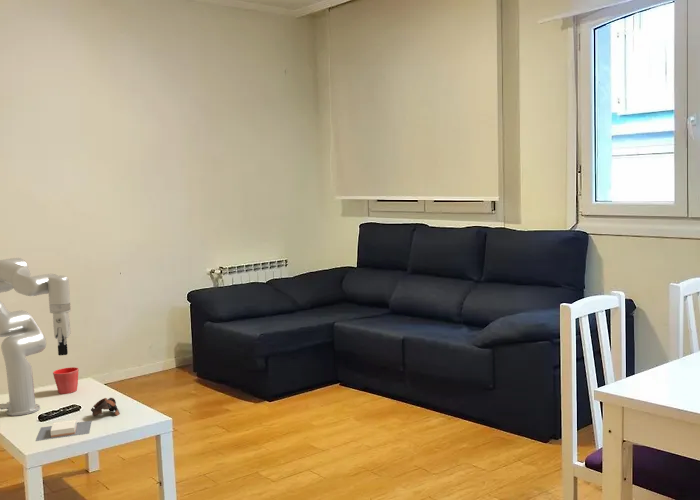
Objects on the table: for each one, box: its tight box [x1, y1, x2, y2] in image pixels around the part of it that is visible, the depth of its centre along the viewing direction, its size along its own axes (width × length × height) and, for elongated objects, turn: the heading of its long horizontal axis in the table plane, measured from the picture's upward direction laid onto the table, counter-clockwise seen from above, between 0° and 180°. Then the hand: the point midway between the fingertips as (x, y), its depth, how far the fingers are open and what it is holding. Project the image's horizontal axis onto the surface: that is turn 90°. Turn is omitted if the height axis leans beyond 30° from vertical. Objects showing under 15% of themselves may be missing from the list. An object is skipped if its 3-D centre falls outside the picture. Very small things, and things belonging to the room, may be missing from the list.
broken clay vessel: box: [90, 397, 121, 417], centre depth 289 cm, size 12×10×8 cm
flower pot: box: [52, 366, 79, 395], centre depth 329 cm, size 11×11×10 cm
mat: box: [35, 420, 92, 442], centre depth 272 cm, size 18×16×1 cm
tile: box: [51, 419, 78, 437], centre depth 270 cm, size 8×2×10 cm
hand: (63, 354), depth 286 cm, fingers closed
